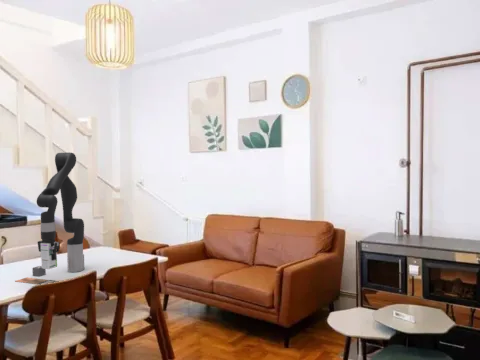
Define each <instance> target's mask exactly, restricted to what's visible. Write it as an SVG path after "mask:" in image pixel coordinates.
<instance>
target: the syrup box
mask: <svg viewBox="0 0 480 360" xmlns="http://www.w3.org/2000/svg"><path fill="white" fill-rule="evenodd" d="M50 246H51V244H50V243H41V252H40V258H41V260H40V261H41V266H42V268H43V269H46V270H52V269H54V268H57V267H58V258H57V257H58V256H57V255H58V254H57V253H58V252H57V253H56V259H55V260H52V258H51V254H52V253H51V250H50ZM51 248H54V246H52V247H51ZM53 251H54V249H53Z"/></svg>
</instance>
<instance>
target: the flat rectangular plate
mask: <svg viewBox="0 0 480 360" xmlns="http://www.w3.org/2000/svg"><path fill="white" fill-rule="evenodd" d="M14 282H16V283H22V282H23V283H25V284H32V285H38V284H44V283H47V282H55V280H53V279H43V278H36V277H29V276H27V277H24V278H23V277H22V278H21V279H17V280H14Z"/></svg>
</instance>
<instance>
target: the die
mask: <svg viewBox="0 0 480 360" xmlns="http://www.w3.org/2000/svg"><path fill="white" fill-rule="evenodd" d="M46 271H47V269H43V268H42V265H37V266H34V267H32V277H38V278H39V277H42V276H46V275H47V273H46Z"/></svg>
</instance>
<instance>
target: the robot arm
mask: <svg viewBox="0 0 480 360" xmlns="http://www.w3.org/2000/svg"><path fill="white" fill-rule="evenodd" d="M54 163H55V168H56V173H55V174H54V175H53V176H52V177H51V178H50V179H49V181H48V183H47V185H46V187H45V188H44V189H43V190H42V191H41V193H39V194H38V196H37V198H36V205H37V206H38V208H47V210H46V211H42V212H41V213H40V239H41V240H39V241H37V248H38V252H40V253H41V243H50V244H51V246H50V250H51V253H52V254H51V258H52V260H55V259H56V253H59V252H60V244H61V243H60V241H56V237H57V236H56V234H57V233H56V222H55V221H56V220H55V218H56V217H55V215H56V210H57V206H58V197H57V196H56V195H58V194H59V193H60V197H61V198H60V199H61V204H62V211H63V212H62V214H63V216H62V218H63V228H64V232H66V233H67V234H68V233H69V234H73V237H71V238H68V239H67V241H66V246H67V247H66V248H67V249H66V250H67V257H66V258H67V272H68V273H78V272H82V271H84V270H85V254H84V238H85V236H84V235H85V221H84V220H83V219H82V218H75V217H74V216H73V209H74V207H75V204H76V202H77V200H78V191H77V187H76V184H75V183H74V182H73V181H72V179H71V178H70V177H69V175H70V174H71V172H72V170H73V169H74V167H75V166H76V164H77V155H76V154H75V153H74V152H57V153H56V154H55V156H54ZM52 246H54V248H51V247H52ZM53 249H54V251H53Z"/></svg>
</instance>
